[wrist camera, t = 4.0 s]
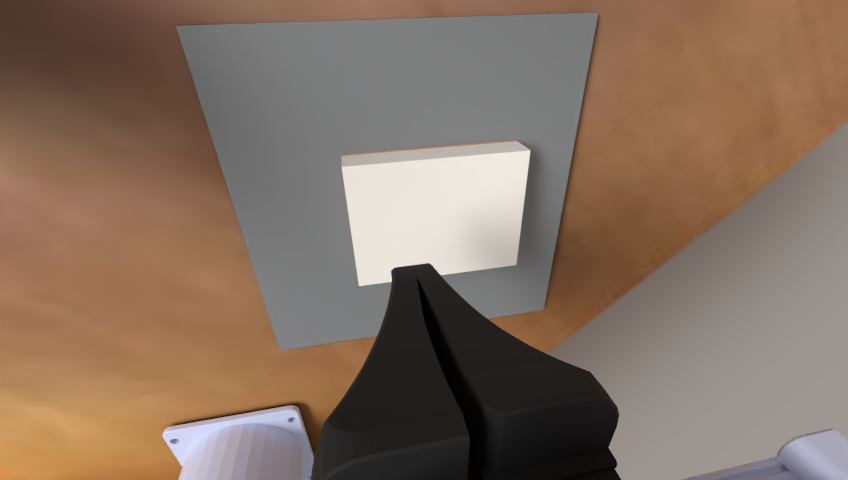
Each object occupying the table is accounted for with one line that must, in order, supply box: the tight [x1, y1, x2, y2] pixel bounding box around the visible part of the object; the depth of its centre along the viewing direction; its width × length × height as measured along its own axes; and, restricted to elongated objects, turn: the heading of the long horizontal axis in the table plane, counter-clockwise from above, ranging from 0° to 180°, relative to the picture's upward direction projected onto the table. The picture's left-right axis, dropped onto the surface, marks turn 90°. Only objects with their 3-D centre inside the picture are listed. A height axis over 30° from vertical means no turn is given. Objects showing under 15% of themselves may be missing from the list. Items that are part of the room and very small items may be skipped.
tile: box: [342, 140, 530, 286], centre depth 18 cm, size 6×2×8 cm
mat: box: [176, 12, 599, 351], centre depth 18 cm, size 16×16×1 cm
